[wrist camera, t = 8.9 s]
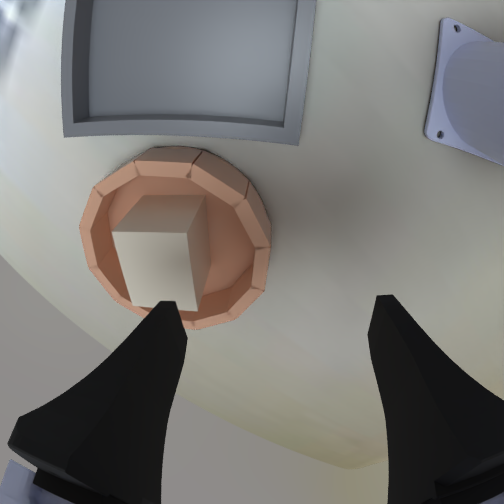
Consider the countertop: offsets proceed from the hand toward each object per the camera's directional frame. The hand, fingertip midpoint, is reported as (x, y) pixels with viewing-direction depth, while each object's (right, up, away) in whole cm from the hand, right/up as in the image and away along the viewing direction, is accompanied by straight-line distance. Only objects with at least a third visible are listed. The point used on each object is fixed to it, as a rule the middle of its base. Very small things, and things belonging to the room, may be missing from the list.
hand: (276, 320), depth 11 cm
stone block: (-6, +4, +9) cm, 11 cm away
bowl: (-6, +4, +9) cm, 11 cm away
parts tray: (-4, +15, +2) cm, 15 cm away
